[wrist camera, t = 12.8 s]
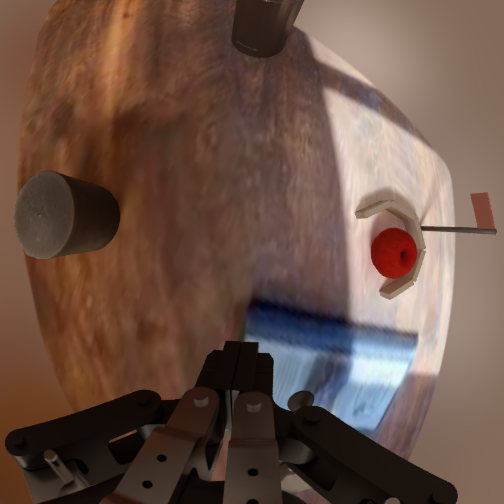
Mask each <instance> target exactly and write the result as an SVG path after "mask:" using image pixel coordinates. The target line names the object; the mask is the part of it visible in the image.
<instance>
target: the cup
mask: <svg viewBox="0 0 504 504" xmlns="http://www.w3.org/2000/svg"><path fill="white" fill-rule="evenodd" d="M470 195H471V200H472V204H473V208H474V212H475V216H476V222H477V227H478V228H468V227H434V226H420V223H419V220H418V217H416V215H415V214H414V213H412V212H411V211H409V210H408V209H406V208H405V207H403V206H402V205H400V204H399V203H397V202H395V201H394V200H385V201H379V202H377V203H375V204H373V205H371V206H368V207H366V208H364V209H362V210H360V211H357V212H355V216H356V218H357V219H362V218H368V217H370V216H372V215H374V214H376V213H378V212H380V211H383V210H385V209H386V210H388V211H389V212H391V213H393V214H394V215H396V216H398V217H399V218H401V219H402V220H404V223H405V226H406V230H407V233H408V234H409V235H411V236H412V238H413V239H414V241H415V243H416V246H417V259H416V262H415V265H414V266H413V267H412V269H411V270H410V271H409V272H408V273H407V274H405V275H404V276H402V277H401V278H399V279H398V280H396V281H394V282H393V283H391V284H390V285H388V286H386V287H385V288H383V289H381V290H380V291H379V292H380V296H382V297H384V298H387V299H389V300H391V299H393V298H394V297H396V296H397V295H399V294H400V293H402V292H403V291H405V290H406V289H408V288H409V287H411V286H412V285H414V283H413V281H414V282H416V280H417V277H418V274H419V271H420V268H421V265H422V262H423V259H424V255H425V252H426V251H424V249H425V248H426V246H425V242H424V238H423V234H422V231H440V232H462V233H480V234H496V233H497V230H496V229H495V227H494V221H493V215H492V210H491V205H490V201H489V197H488V193H476V194H470ZM415 217H416V218H415Z"/></svg>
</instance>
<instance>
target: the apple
mask: <svg viewBox="0 0 504 504" xmlns="http://www.w3.org/2000/svg"><path fill="white" fill-rule="evenodd" d="M371 259H372V262H373V265H374V266H375V267H376V269H377V270H378V271H379V273H380V274H382V275H383V276H384V277H387V278H392V279H396V278H399V277H401V276H404V275H405V274H407V273H408V272H409V271H410V270H411V269H412V267H413V266H414V265H415V262H416V259H417V246H416V243H415V241H414V239H413V238H412V236H411V235H409V234H408V233H407V232H405V231H403V230H401V229H398V228H389V229H386V230H384V231H382V232H381V233H380V234H379V235H378V236H377V237H376V238H375V240H374V242H373V244H372V247H371Z"/></svg>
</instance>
